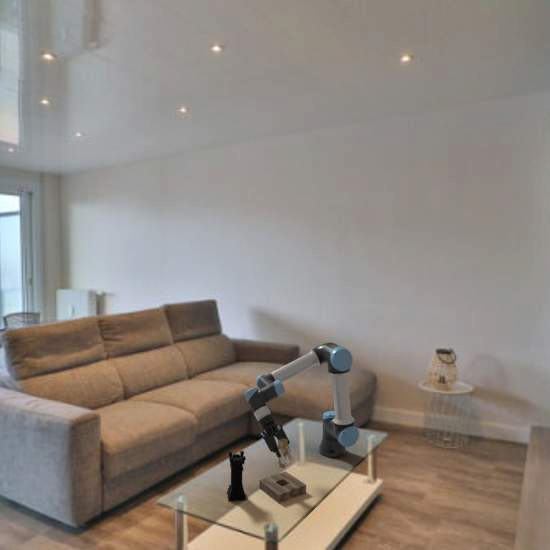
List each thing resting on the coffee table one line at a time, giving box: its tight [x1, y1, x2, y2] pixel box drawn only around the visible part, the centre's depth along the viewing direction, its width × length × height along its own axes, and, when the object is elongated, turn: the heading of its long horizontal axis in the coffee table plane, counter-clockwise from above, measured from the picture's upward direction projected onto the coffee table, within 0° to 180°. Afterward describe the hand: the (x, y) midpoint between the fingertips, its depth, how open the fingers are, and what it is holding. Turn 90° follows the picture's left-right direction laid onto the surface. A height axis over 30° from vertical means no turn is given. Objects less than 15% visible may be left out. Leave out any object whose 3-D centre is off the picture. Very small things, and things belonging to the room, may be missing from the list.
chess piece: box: [226, 450, 247, 502], centre depth 222 cm, size 8×8×20 cm
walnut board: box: [258, 471, 307, 504], centre depth 229 cm, size 16×16×4 cm
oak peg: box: [277, 439, 289, 469], centre depth 227 cm, size 4×4×13 cm
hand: (288, 461), depth 225 cm, fingers closed on oak peg, 4 cm apart
